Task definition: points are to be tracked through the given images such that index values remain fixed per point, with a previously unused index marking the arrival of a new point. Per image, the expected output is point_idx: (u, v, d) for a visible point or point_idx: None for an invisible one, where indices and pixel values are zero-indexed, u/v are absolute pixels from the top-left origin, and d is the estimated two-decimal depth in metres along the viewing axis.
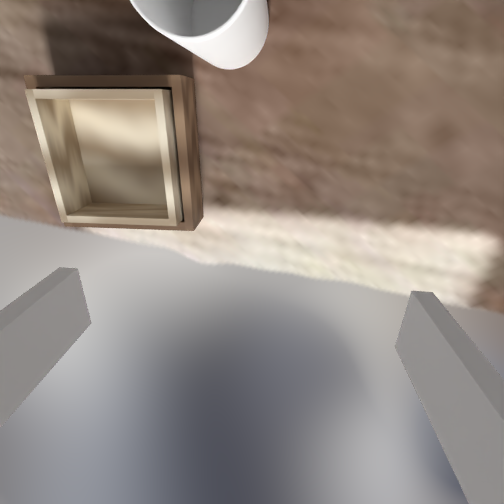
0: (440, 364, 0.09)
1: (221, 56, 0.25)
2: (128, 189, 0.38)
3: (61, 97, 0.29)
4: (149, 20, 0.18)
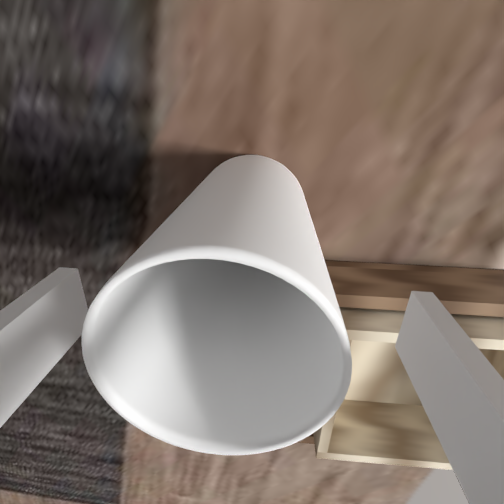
0: (440, 364, 0.09)
1: None
2: None
3: (330, 431, 0.24)
4: (306, 432, 0.10)
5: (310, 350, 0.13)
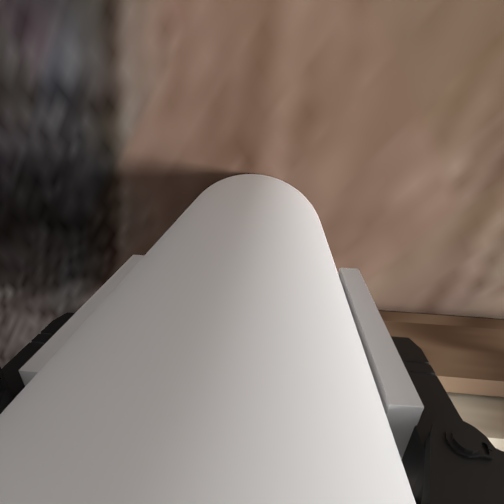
0: None
1: None
2: None
3: None
4: None
5: None
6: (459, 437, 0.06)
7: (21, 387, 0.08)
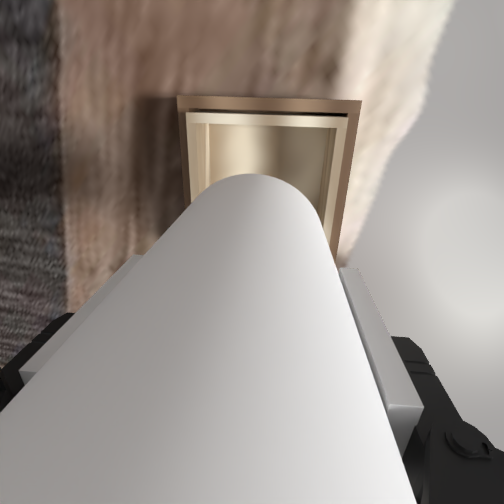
0: None
1: None
2: (302, 191, 0.33)
3: None
4: None
5: None
6: (459, 437, 0.06)
7: (21, 387, 0.08)
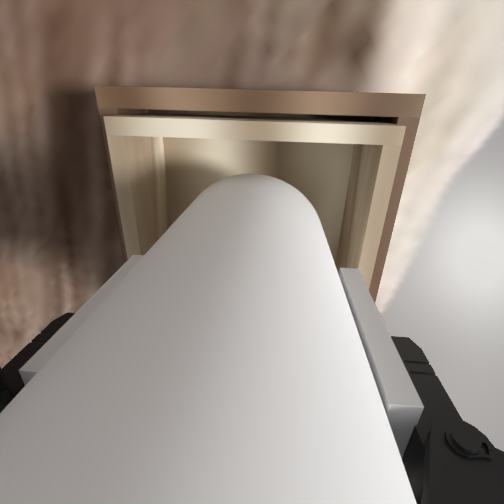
0: None
1: None
2: None
3: None
4: None
5: None
6: (459, 437, 0.06)
7: (21, 387, 0.08)
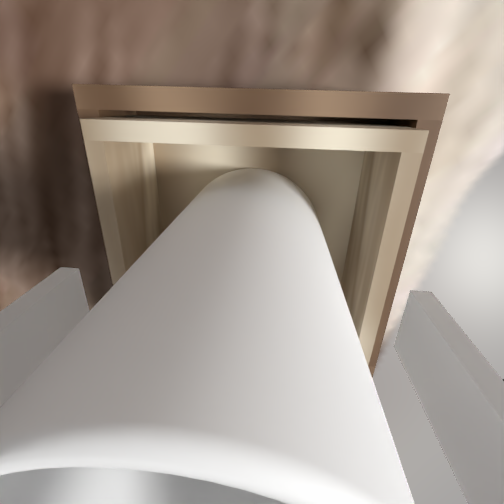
0: (439, 363, 0.09)
1: None
2: None
3: None
4: None
5: None
6: None
7: None
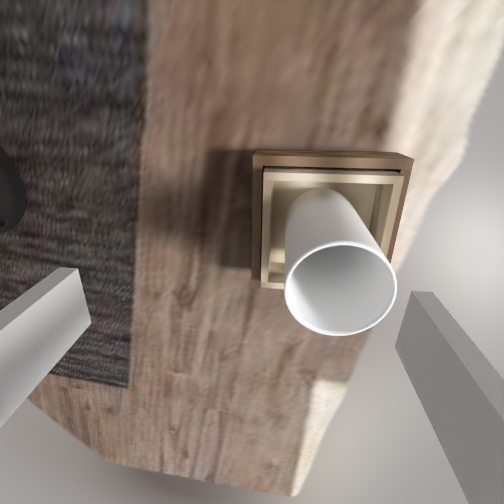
0: (440, 364, 0.09)
1: None
2: None
3: (267, 261, 0.34)
4: (375, 322, 0.24)
5: (371, 293, 0.26)
6: None
7: None
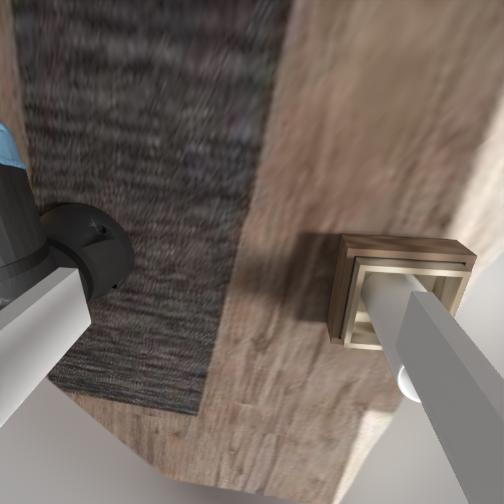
0: (440, 364, 0.09)
1: None
2: None
3: (352, 328, 0.42)
4: None
5: None
6: None
7: None
